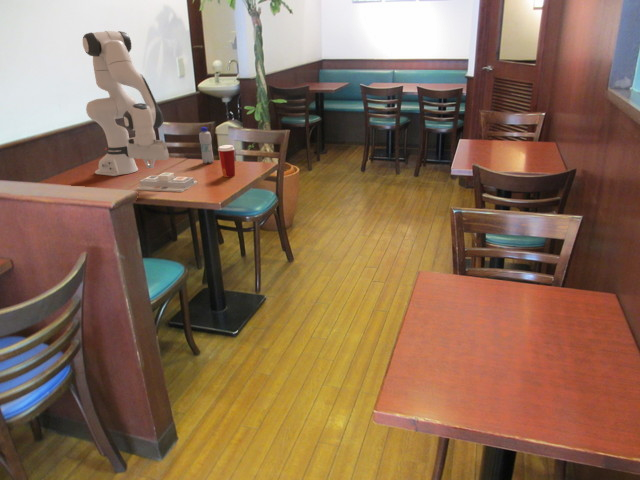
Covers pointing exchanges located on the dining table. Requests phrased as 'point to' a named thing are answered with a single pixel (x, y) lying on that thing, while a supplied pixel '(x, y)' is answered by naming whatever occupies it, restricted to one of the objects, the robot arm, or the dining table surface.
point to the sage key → (166, 177)
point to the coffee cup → (227, 160)
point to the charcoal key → (151, 178)
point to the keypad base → (166, 185)
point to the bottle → (206, 145)
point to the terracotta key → (180, 179)
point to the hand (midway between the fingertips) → (150, 168)
